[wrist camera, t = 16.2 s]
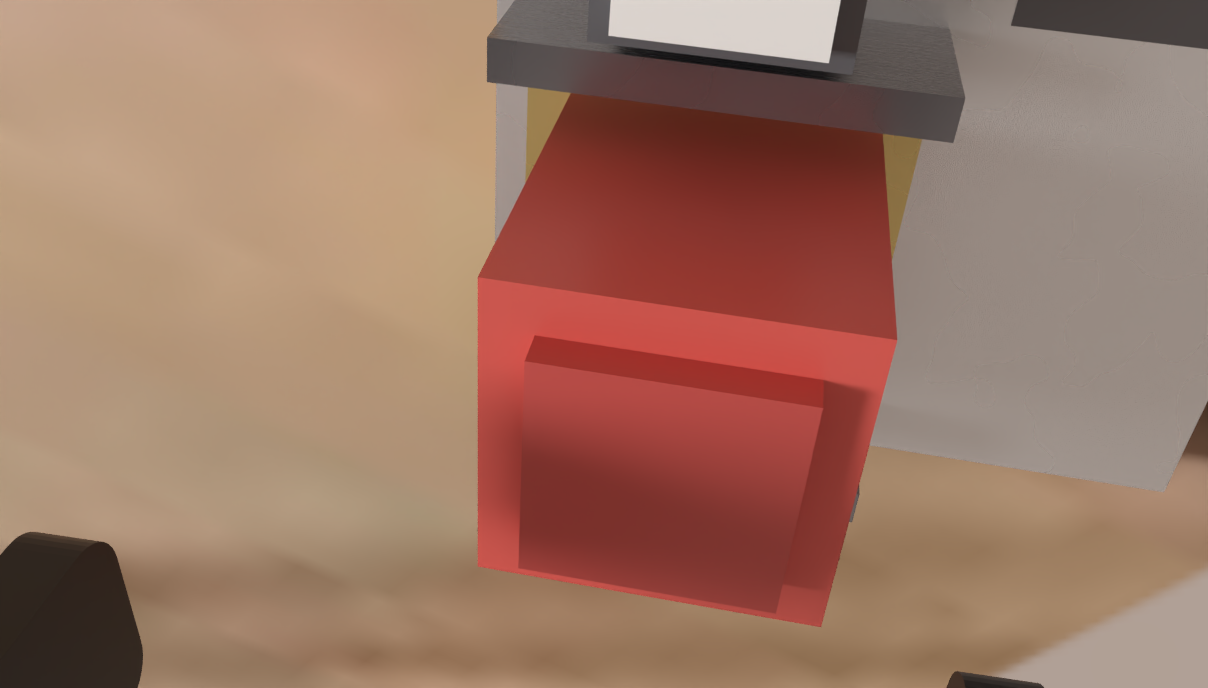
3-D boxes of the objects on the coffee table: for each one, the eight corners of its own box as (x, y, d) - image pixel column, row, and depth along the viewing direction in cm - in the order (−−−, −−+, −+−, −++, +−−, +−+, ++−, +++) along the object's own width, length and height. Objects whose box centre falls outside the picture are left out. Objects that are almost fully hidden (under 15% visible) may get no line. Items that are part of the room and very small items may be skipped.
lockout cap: (826, 356, 19) (820, 658, 14) (567, 317, 20) (468, 594, 14) (880, 111, 17) (899, 368, 11) (581, 71, 17) (465, 301, 12)
